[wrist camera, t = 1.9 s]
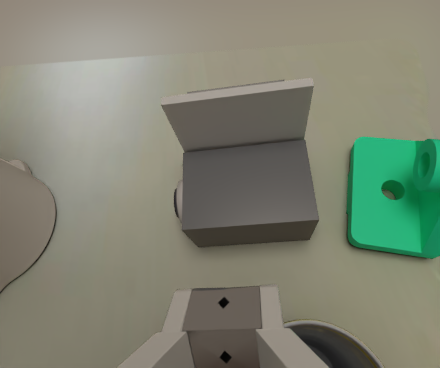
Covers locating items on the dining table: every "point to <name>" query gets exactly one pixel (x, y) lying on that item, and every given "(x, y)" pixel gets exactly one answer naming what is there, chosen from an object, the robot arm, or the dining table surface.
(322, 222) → the dining table surface
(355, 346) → the ceramic cup
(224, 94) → the side door
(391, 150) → the camera mount
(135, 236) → the dining table surface
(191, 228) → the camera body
